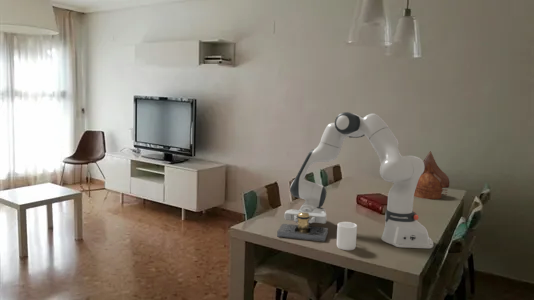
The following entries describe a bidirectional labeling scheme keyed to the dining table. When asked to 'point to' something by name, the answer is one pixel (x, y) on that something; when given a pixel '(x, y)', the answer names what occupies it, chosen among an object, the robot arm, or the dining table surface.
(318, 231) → the grey recessed slab
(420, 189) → the decorative ornament
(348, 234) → the cup
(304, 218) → the gold cylinder
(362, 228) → the dining table surface
